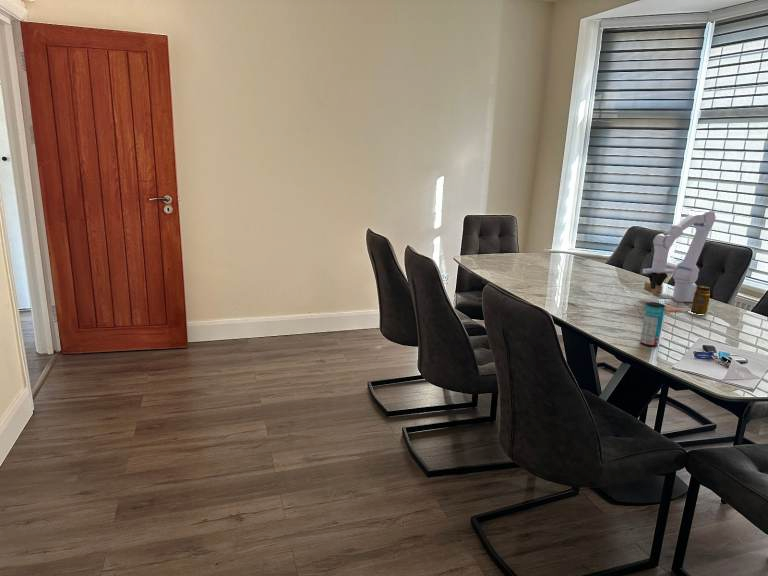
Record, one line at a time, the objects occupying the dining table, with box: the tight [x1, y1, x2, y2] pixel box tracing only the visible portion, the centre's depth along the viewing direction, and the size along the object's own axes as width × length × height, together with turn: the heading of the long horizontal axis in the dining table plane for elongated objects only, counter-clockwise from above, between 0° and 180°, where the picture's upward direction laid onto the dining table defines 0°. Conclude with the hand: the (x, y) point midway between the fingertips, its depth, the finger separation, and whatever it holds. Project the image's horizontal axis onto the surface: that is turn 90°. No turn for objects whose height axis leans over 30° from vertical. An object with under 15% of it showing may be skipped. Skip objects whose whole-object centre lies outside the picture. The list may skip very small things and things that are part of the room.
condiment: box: [684, 285, 711, 316], centre depth 234 cm, size 7×8×12 cm
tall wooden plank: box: [643, 280, 675, 300], centre depth 247 cm, size 17×6×4 cm, turn 7°
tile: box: [664, 305, 683, 313], centre depth 239 cm, size 7×1×8 cm
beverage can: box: [639, 301, 666, 348], centre depth 188 cm, size 6×6×15 cm
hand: (655, 288), depth 249 cm, fingers closed on tall wooden plank, 2 cm apart
